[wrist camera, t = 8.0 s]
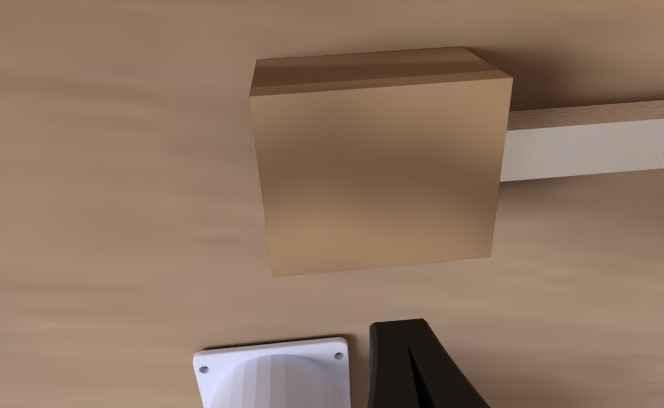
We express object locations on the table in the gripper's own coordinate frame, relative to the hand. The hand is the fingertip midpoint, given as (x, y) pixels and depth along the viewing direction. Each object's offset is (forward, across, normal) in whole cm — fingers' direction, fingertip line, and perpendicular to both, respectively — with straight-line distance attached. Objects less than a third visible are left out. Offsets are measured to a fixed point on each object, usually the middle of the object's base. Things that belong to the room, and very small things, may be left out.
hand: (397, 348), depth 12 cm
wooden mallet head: (+10, 0, -1) cm, 11 cm away
